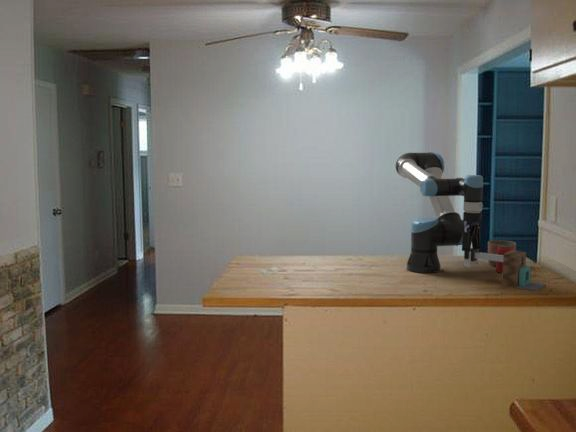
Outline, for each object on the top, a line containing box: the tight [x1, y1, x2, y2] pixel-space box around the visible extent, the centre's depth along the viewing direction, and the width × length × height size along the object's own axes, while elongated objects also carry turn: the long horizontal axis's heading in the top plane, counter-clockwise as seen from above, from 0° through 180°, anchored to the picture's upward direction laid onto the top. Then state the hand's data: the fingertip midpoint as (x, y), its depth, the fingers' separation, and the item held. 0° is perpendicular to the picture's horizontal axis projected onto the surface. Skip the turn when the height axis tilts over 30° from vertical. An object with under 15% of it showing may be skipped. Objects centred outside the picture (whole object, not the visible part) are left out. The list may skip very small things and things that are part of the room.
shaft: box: [470, 247, 522, 263], centre depth 247 cm, size 23×4×5 cm, turn 50°
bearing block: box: [501, 250, 527, 288], centre depth 241 cm, size 6×9×13 cm, turn 140°
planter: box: [487, 239, 517, 267], centre depth 277 cm, size 12×12×11 cm
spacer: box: [519, 265, 531, 286], centre depth 239 cm, size 2×7×7 cm, turn 140°
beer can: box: [495, 244, 512, 274], centre depth 263 cm, size 7×7×12 cm
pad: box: [516, 281, 547, 292], centre depth 238 cm, size 8×12×1 cm, turn 140°
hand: (470, 264), depth 253 cm, fingers open, 7 cm apart
